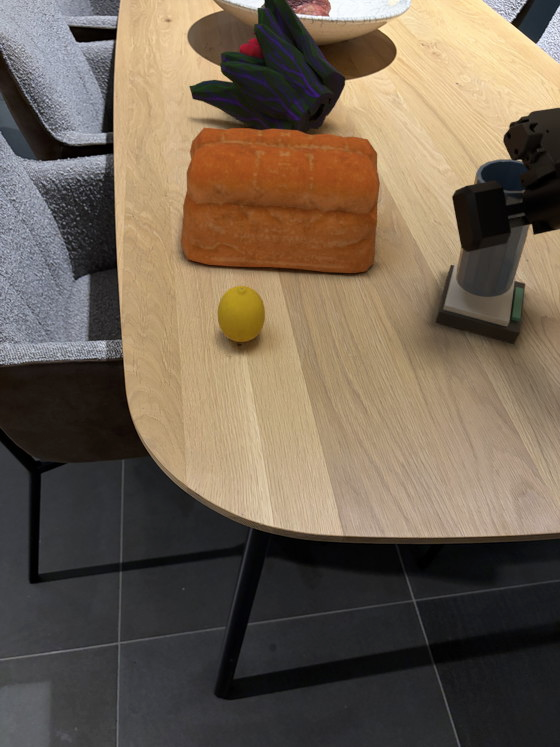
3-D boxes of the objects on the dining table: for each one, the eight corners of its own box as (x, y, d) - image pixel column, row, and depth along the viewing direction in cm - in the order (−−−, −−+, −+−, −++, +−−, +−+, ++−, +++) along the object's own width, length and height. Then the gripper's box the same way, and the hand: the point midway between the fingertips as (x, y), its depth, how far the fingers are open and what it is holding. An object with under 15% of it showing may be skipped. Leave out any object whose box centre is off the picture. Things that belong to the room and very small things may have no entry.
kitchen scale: (520, 294, 82) (527, 278, 80) (514, 344, 75) (522, 328, 73) (447, 275, 83) (452, 259, 81) (435, 322, 77) (441, 306, 75)
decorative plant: (270, 199, 109) (165, 97, 115) (373, 110, 112) (266, 16, 118) (259, 127, 89) (133, 9, 95) (385, 22, 92) (255, -86, 98)
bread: (375, 279, 82) (398, 180, 71) (178, 266, 81) (169, 165, 70) (368, 218, 91) (387, 122, 80) (191, 207, 90) (185, 108, 79)
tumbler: (523, 289, 72) (556, 184, 62) (472, 302, 71) (497, 198, 61) (494, 257, 76) (520, 154, 66) (446, 269, 75) (465, 166, 65)
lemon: (269, 350, 72) (272, 301, 66) (224, 359, 71) (223, 309, 65) (256, 319, 76) (258, 269, 70) (213, 326, 74) (211, 276, 68)
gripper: (661, 84, 56) (542, 139, 71) (495, 108, 51) (404, 162, 66) (678, 204, 57) (558, 233, 72) (518, 239, 52) (423, 263, 67)
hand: (488, 221), depth 69 cm, fingers closed on tumbler, 7 cm apart
